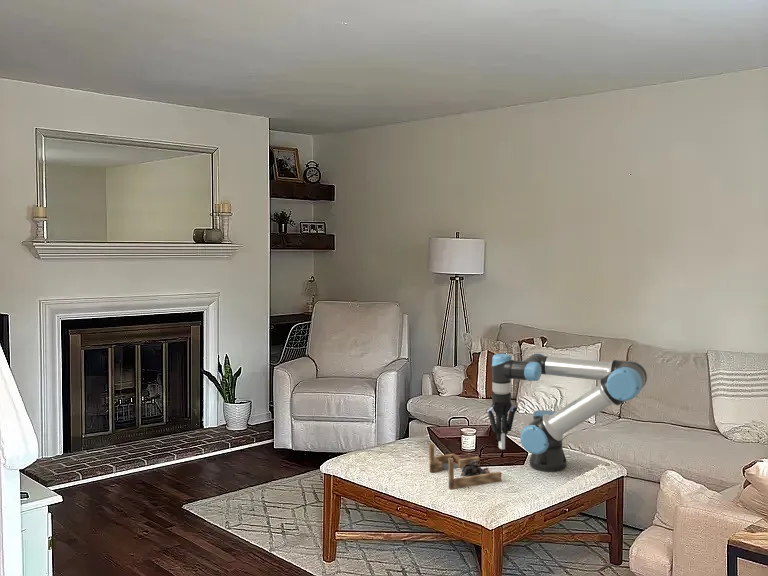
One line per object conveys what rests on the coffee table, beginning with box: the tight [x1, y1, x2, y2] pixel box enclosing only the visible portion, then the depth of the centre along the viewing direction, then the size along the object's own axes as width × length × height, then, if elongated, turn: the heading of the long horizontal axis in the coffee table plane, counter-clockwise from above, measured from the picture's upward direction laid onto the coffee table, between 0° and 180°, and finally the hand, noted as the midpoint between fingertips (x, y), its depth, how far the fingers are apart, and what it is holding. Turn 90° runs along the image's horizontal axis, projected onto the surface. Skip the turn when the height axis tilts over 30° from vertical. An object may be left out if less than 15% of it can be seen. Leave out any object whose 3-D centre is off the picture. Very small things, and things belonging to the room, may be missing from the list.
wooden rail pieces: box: [428, 442, 502, 490], centre depth 315 cm, size 22×28×12 cm
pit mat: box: [442, 463, 459, 471], centre depth 324 cm, size 7×6×1 cm
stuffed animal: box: [459, 461, 491, 477], centre depth 314 cm, size 12×10×12 cm
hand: (501, 448), depth 316 cm, fingers closed
